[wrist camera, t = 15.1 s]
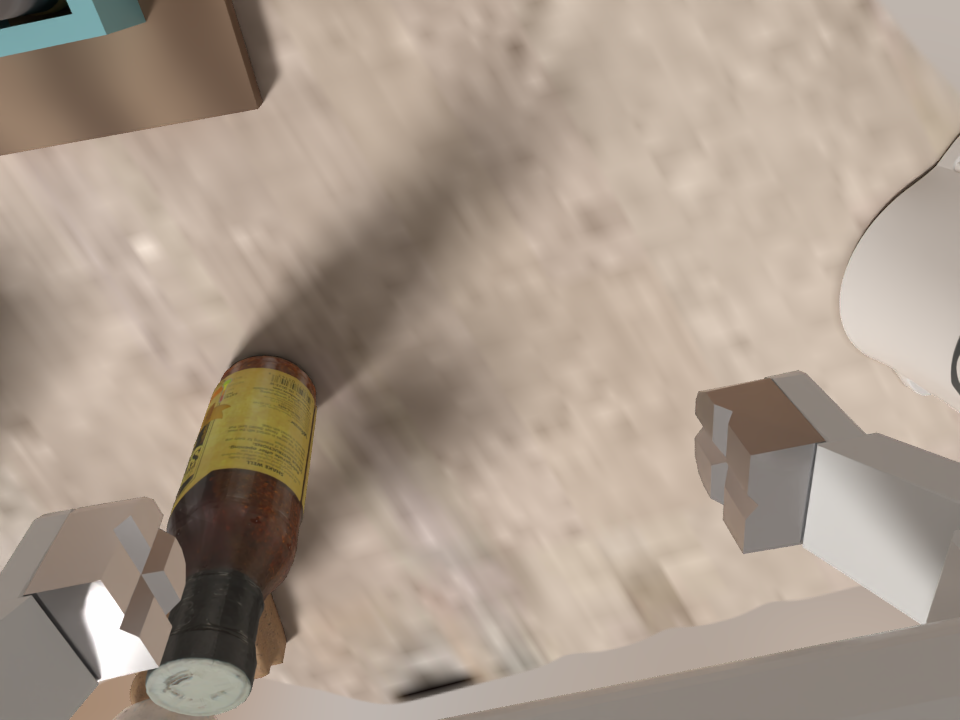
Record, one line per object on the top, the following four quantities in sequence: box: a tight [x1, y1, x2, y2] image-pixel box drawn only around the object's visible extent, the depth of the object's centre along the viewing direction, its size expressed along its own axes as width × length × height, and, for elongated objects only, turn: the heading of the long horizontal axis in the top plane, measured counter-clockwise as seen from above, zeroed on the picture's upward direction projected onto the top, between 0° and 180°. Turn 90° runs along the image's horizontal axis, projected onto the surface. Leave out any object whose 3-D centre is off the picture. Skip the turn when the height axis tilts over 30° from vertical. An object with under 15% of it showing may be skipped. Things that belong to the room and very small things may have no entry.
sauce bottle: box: [145, 355, 317, 716], centre depth 35 cm, size 7×6×20 cm
